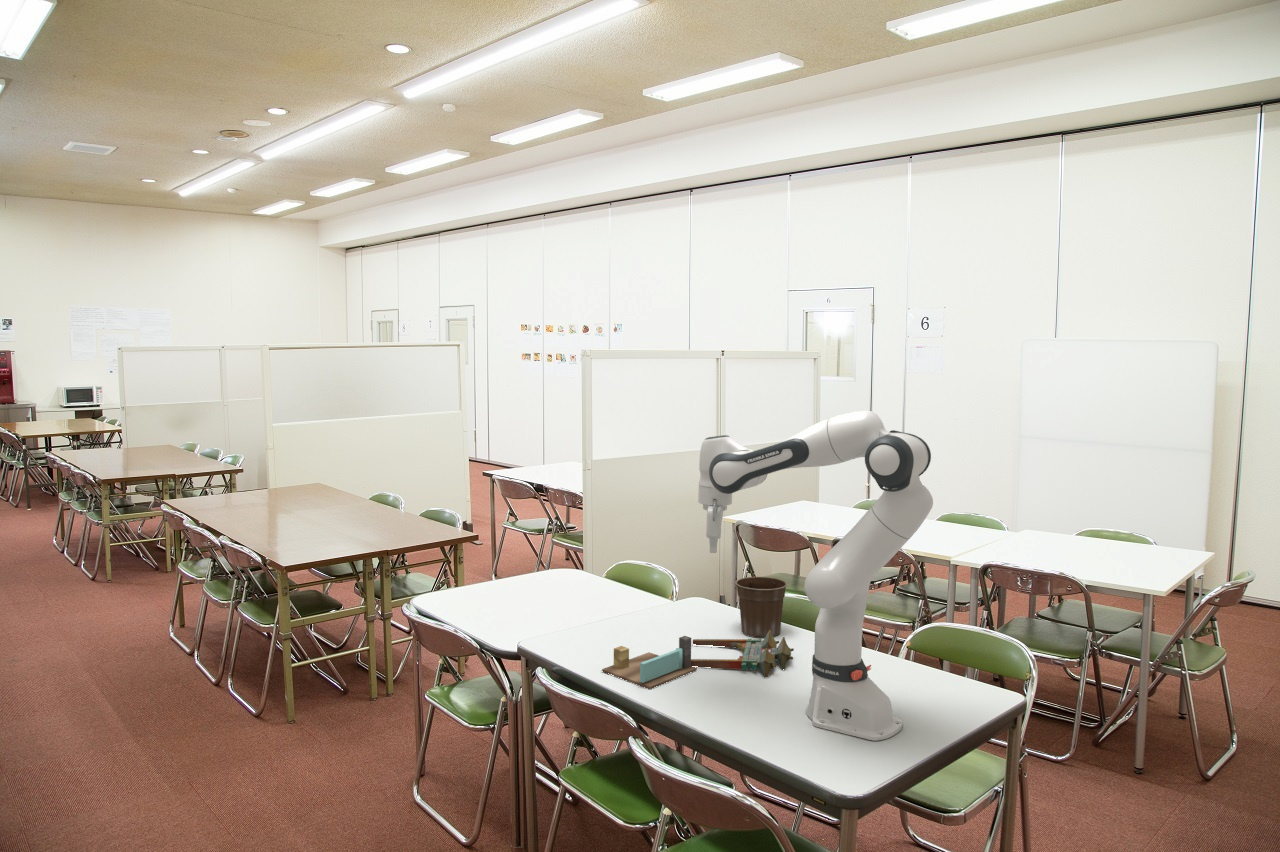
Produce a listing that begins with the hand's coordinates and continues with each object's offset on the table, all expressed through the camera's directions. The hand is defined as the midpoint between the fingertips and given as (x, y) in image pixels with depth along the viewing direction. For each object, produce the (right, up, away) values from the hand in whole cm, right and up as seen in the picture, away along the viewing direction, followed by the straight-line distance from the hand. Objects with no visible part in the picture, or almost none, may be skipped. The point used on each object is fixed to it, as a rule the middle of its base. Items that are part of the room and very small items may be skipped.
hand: (713, 548), depth 220 cm
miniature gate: (+10, -36, +20) cm, 42 cm away
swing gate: (-14, -35, +5) cm, 38 cm away
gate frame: (-17, -35, +10) cm, 40 cm away
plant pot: (+19, -33, +45) cm, 59 cm away
